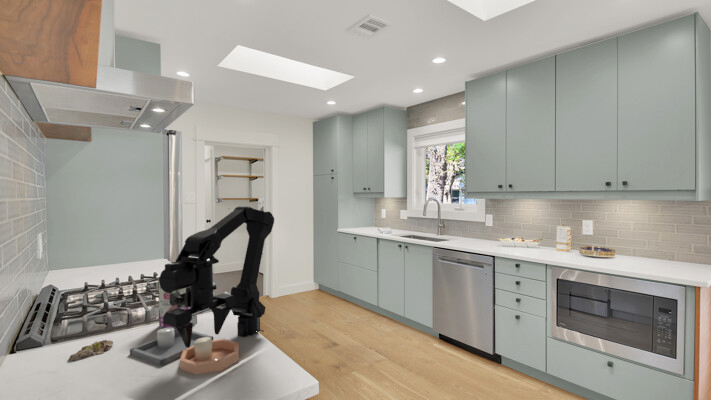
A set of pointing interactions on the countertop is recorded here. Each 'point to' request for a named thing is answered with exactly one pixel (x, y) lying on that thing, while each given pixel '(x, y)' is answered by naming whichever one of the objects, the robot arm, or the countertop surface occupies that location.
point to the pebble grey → (165, 338)
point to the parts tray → (166, 355)
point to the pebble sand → (203, 348)
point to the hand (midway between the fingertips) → (202, 340)
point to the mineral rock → (92, 350)
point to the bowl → (222, 357)
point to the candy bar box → (165, 305)
